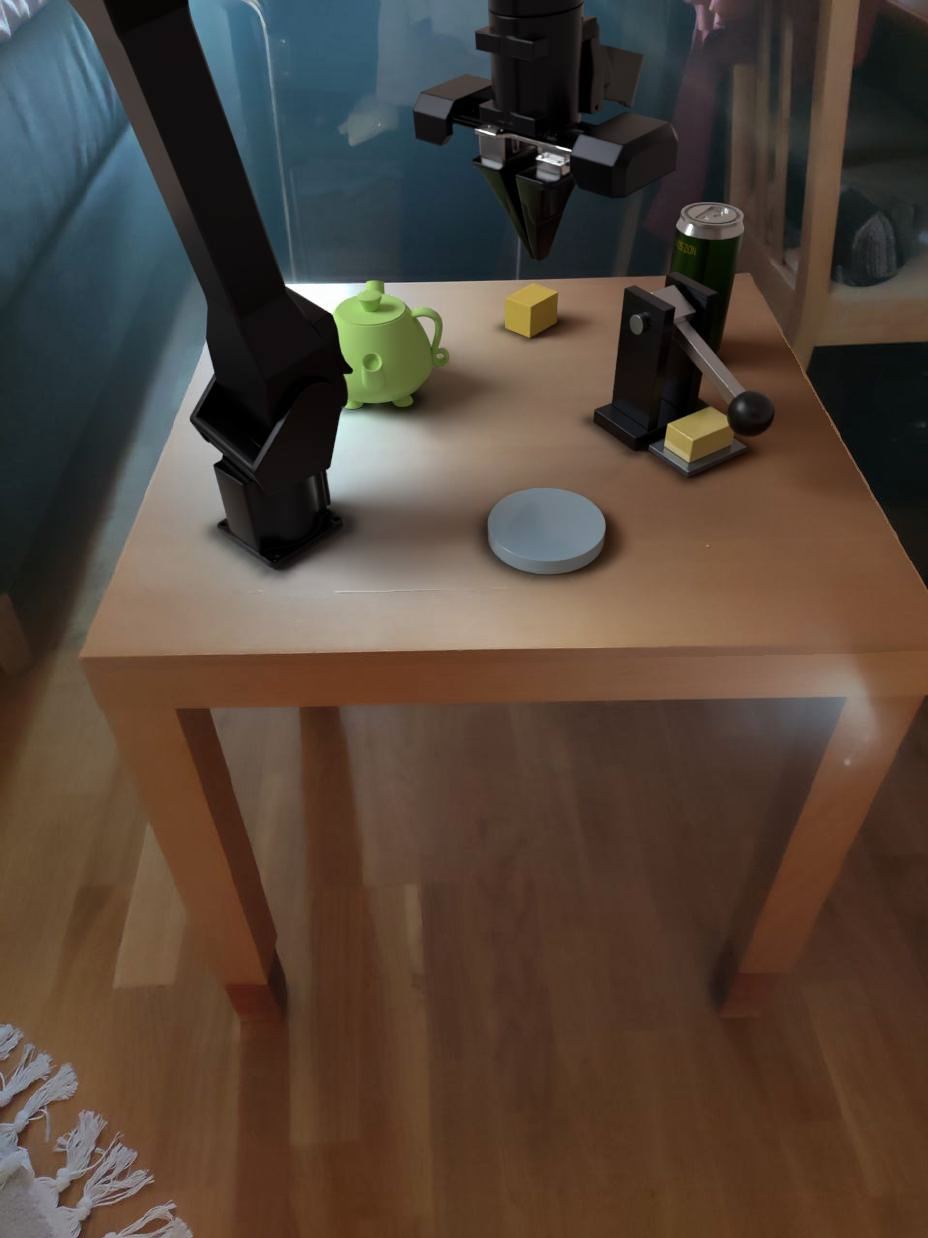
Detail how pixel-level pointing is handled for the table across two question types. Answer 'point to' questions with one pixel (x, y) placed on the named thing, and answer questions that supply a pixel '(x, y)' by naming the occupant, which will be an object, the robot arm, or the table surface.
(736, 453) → the butter dish
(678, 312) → the arm
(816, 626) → the table surface
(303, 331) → the robot arm
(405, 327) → the teapot
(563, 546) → the plate
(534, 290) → the butter pat
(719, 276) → the beer can
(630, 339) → the cutter
